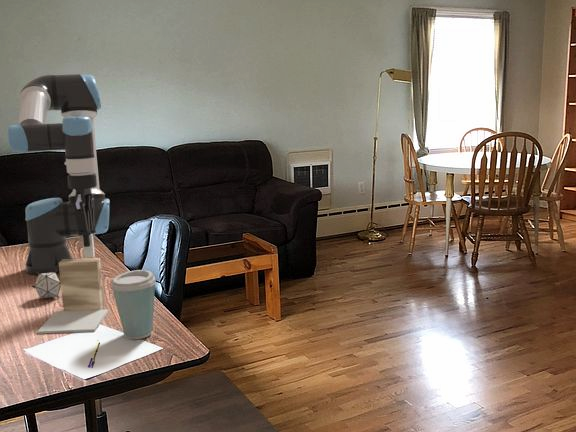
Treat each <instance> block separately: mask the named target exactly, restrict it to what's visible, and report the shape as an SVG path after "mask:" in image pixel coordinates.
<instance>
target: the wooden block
mask: <svg viewBox="0 0 576 432" xmlns="http://www.w3.org/2000/svg"><path fill="white" fill-rule="evenodd" d="M59 272H60V273H59V280H60V282H61V288H60V290H61V291H60V292H61V300H62V309H63V310H62V311H79V310H105V307H106V306H105V295H104V284H103V283H104V282H103V274H102V262H101V257H90V258H84V257H83V258H73V259H62V260H61V261H60V262H59Z"/></svg>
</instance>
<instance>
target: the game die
mask: <svg viewBox="0 0 576 432" xmlns="http://www.w3.org/2000/svg"><path fill="white" fill-rule="evenodd" d="M56 271H57V269H56V270H55V272H50V273H41V274H39V272H37V273H38V274H39V275H37V278H36V280H35V283H34V284H32V285H31V287H32V288H33V289H35V291H36V292H37V294H38V296H39V299H38V300H39V302H40V301H42V299H48V298H55V297H56V298H57V299H60V296H59V295H60V294H59V293H60V292H61V291H60V290H61V281H60V277H59V276H58V273H56Z"/></svg>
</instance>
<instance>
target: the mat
mask: <svg viewBox="0 0 576 432" xmlns="http://www.w3.org/2000/svg"><path fill="white" fill-rule="evenodd" d="M108 314H109V309H106V308H104V309H103V310H79V311H64V310H57V311H55V312H54V313H53V314H51V316H50V317H49V318H48V319H47V320H46V322H44V323H43V325H41V327H40V328H39V329H38V330H37V331H36V332H37V334H39V335H40V334H42V335H43V334H63V333H64V334H65V333H89V332H96V331H97V329H98V328H99V326H100V325H101V324H102V322H103V321H104V319H105V318H106V316H107V315H108Z"/></svg>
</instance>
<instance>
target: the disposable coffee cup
mask: <svg viewBox="0 0 576 432" xmlns="http://www.w3.org/2000/svg"><path fill="white" fill-rule="evenodd" d="M110 284H111V285H110V289H111V290H112V293H113V297H114V301H115V305H116V308H117V312H118V316H119V320H120V324H121V328H122V330H123V335H124V336H125V338H127V339H129V340H141V339H145V338H147V337H149V336H151V335H152V332H153V326H154V311H155V310H154V309H155V291H156V289H155V288H156V284H157V282H156V278H155V276H154V274H153V271H150V270H148V269H147V270H145V269H136V270H131V271H125V272H123V273H119V274H117V276H115V277H114V278H113V279H112V280H111V283H110Z"/></svg>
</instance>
